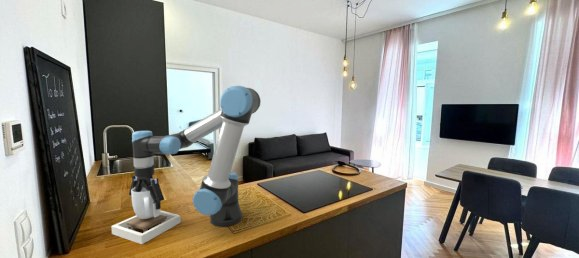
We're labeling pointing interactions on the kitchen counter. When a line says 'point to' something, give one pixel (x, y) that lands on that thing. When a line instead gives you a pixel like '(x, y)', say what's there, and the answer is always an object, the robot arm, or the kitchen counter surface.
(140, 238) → the face frame
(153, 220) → the brown piece
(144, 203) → the mug
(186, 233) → the kitchen counter surface
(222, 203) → the robot arm
